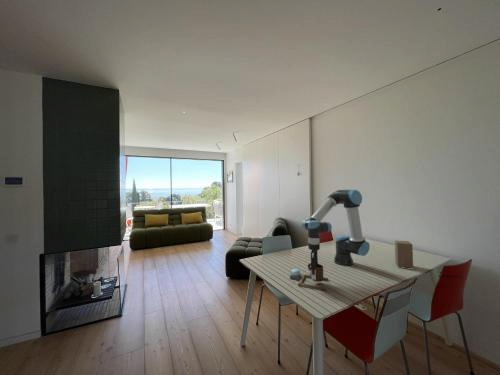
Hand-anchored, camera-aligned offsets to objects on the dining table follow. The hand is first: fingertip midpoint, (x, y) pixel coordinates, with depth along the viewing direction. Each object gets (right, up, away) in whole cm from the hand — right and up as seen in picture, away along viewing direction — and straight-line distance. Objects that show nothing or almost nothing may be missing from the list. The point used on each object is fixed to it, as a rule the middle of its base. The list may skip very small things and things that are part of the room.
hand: (314, 276), depth 139 cm
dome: (-11, -3, +10) cm, 15 cm away
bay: (0, -4, 0) cm, 4 cm away
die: (+2, -5, +11) cm, 12 cm away
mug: (+1, -2, +1) cm, 2 cm away
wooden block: (+82, -4, +27) cm, 86 cm away
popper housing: (-11, -5, +10) cm, 15 cm away
